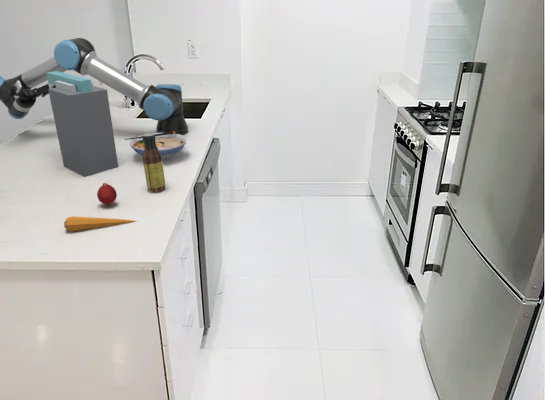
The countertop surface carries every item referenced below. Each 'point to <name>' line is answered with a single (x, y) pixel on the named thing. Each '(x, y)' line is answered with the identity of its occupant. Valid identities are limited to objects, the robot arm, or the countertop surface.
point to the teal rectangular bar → (70, 81)
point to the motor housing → (84, 128)
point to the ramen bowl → (162, 143)
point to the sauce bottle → (153, 164)
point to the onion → (106, 194)
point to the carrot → (91, 223)
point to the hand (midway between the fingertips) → (37, 81)
